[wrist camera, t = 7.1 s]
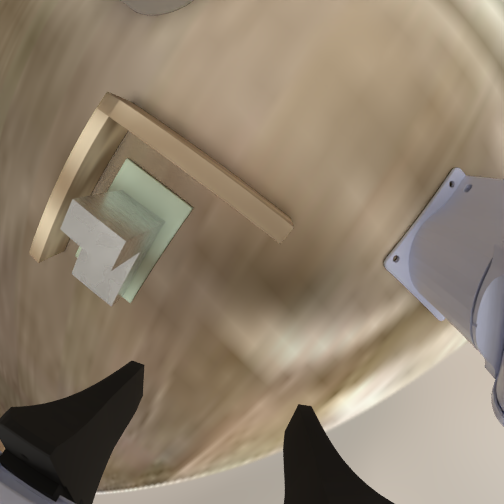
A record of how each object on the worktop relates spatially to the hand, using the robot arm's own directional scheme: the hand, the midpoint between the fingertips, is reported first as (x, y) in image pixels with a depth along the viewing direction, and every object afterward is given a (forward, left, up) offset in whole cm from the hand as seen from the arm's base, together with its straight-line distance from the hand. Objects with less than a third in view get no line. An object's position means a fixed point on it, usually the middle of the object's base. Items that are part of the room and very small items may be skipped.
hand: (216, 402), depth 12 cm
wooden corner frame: (-1, -8, -10) cm, 13 cm away
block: (+1, -10, -9) cm, 14 cm away
